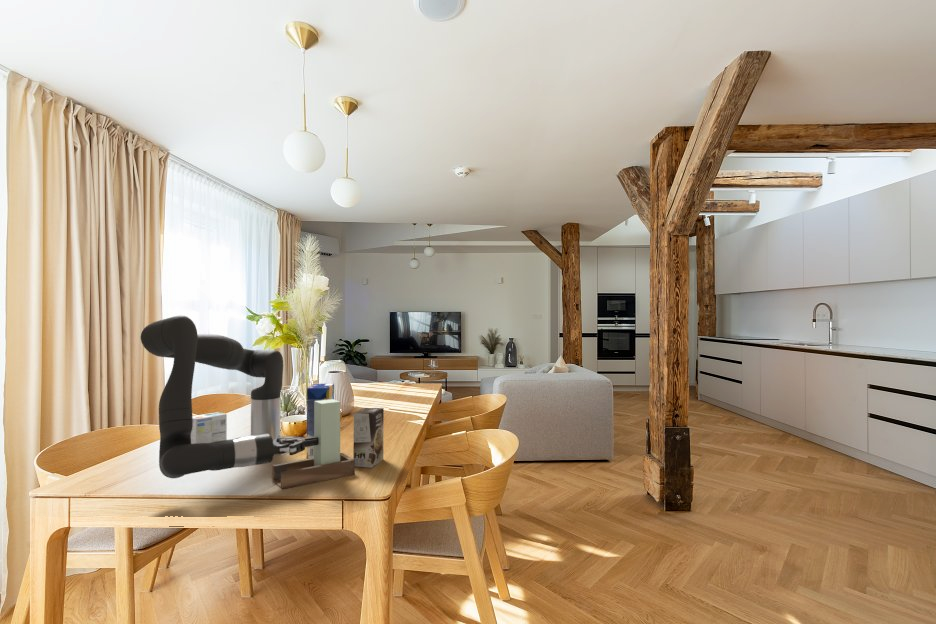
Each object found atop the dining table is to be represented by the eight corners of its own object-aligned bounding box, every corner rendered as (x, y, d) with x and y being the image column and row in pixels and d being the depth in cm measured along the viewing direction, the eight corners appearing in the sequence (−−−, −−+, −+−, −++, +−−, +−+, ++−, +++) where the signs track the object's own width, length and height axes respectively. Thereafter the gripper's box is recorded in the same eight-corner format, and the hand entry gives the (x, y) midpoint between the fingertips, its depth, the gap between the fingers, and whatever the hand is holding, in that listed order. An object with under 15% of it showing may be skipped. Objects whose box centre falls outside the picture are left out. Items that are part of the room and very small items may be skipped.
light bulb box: (217, 441, 174) (217, 411, 174) (227, 444, 170) (227, 413, 170) (186, 448, 165) (186, 416, 166) (195, 451, 161) (196, 418, 162)
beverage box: (333, 448, 165) (333, 383, 165) (329, 457, 154) (329, 388, 154) (312, 449, 164) (313, 383, 164) (306, 458, 153) (306, 388, 153)
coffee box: (372, 468, 144) (373, 413, 144) (352, 466, 145) (352, 412, 145) (384, 459, 153) (384, 407, 153) (365, 458, 154) (365, 406, 154)
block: (313, 471, 138) (314, 401, 139) (332, 468, 142) (332, 399, 142) (320, 476, 134) (321, 403, 134) (340, 472, 137) (340, 401, 137)
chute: (272, 479, 133) (272, 465, 133) (341, 466, 145) (341, 452, 145) (282, 489, 126) (282, 473, 126) (354, 474, 138) (354, 460, 138)
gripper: (258, 441, 121) (326, 431, 131) (245, 431, 131) (309, 422, 142) (258, 471, 120) (326, 459, 131) (245, 459, 131) (309, 448, 142)
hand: (317, 440), depth 136 cm, fingers closed
